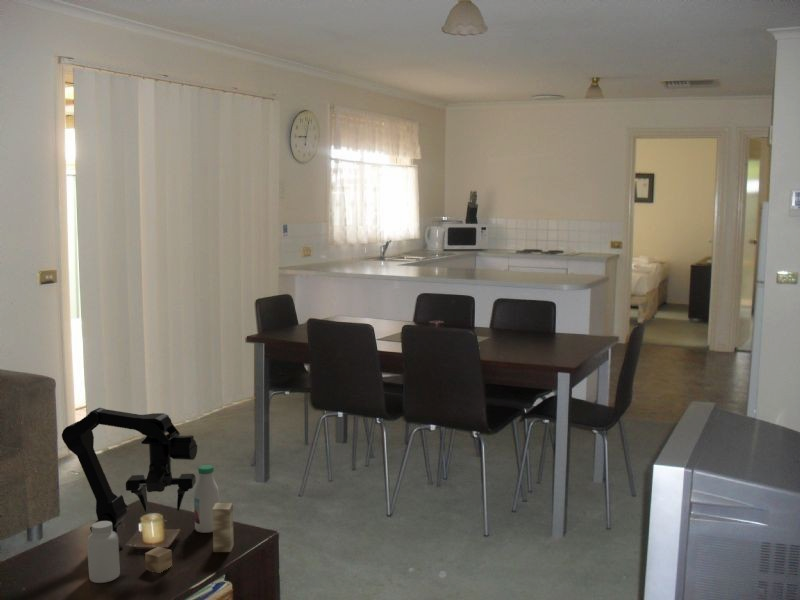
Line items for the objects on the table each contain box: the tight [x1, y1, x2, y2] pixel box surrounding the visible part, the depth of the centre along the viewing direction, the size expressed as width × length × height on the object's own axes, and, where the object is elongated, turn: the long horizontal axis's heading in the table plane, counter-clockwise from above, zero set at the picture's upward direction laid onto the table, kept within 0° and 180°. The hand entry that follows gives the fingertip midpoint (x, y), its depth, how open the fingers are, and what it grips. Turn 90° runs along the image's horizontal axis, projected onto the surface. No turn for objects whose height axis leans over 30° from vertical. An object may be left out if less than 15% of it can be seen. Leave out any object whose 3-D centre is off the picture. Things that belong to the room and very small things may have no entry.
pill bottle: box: [86, 521, 121, 584], centre depth 218 cm, size 8×8×15 cm
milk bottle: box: [193, 464, 221, 534], centre depth 250 cm, size 8×8×20 cm
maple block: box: [212, 502, 235, 553], centre depth 236 cm, size 5×5×13 cm
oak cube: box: [144, 545, 173, 574], centre depth 224 cm, size 5×5×5 cm
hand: (162, 510), depth 232 cm, fingers open, 9 cm apart
